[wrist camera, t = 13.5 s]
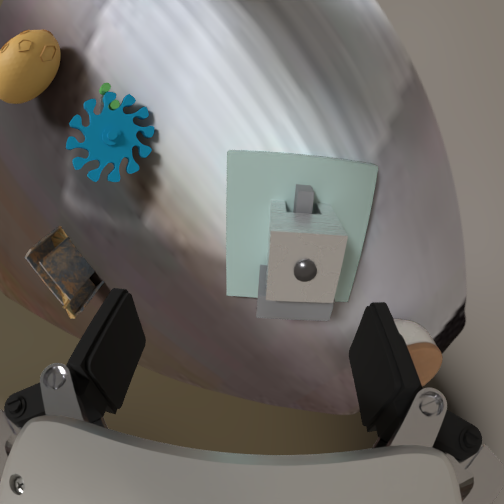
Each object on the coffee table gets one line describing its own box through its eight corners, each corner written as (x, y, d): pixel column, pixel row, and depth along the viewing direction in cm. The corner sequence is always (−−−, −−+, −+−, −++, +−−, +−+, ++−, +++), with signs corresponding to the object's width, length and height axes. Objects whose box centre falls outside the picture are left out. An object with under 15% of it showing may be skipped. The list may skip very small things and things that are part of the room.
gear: (159, 175, 28) (70, 192, 22) (142, 174, 32) (67, 190, 26) (155, 79, 24) (66, 85, 18) (138, 92, 29) (63, 100, 23)
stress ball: (55, 104, 26) (64, 75, 19) (-7, 121, 20) (-17, 95, 13) (57, 47, 23) (70, 9, 16) (-2, 60, 16) (-5, 23, 10)
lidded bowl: (352, 315, 38) (370, 374, 29) (427, 297, 36) (457, 347, 26) (352, 365, 44) (364, 417, 34) (416, 349, 42) (435, 396, 32)
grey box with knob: (270, 199, 29) (270, 232, 22) (329, 203, 29) (349, 237, 22) (267, 256, 33) (265, 302, 25) (321, 260, 32) (333, 304, 25)
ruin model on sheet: (107, 279, 38) (76, 320, 30) (97, 286, 39) (67, 326, 31) (62, 222, 34) (22, 254, 26) (54, 232, 35) (16, 264, 27)
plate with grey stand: (229, 150, 28) (216, 162, 22) (373, 163, 28) (401, 181, 21) (228, 288, 37) (219, 327, 30) (345, 295, 36) (357, 333, 30)
